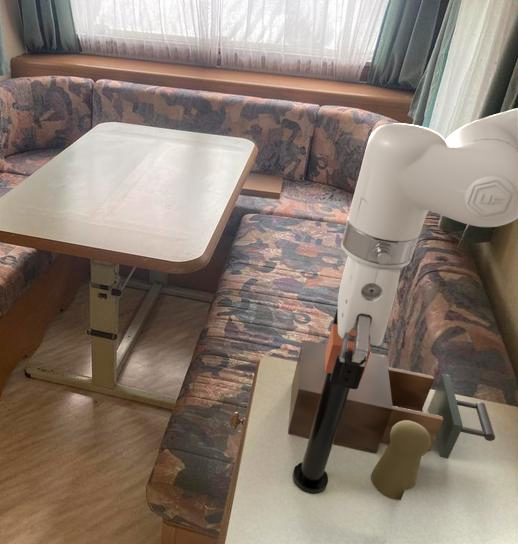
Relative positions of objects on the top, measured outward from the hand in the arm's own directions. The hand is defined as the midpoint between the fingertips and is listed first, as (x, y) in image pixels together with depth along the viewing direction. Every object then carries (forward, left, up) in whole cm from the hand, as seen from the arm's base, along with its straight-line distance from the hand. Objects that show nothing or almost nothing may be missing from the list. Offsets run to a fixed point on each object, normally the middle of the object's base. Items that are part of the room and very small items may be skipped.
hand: (342, 359), depth 72 cm
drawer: (-11, -19, -22) cm, 31 cm away
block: (0, 0, -1) cm, 1 cm away
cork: (-10, -7, -23) cm, 26 cm away
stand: (0, 0, -23) cm, 23 cm away
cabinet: (+2, -15, -23) cm, 27 cm away
